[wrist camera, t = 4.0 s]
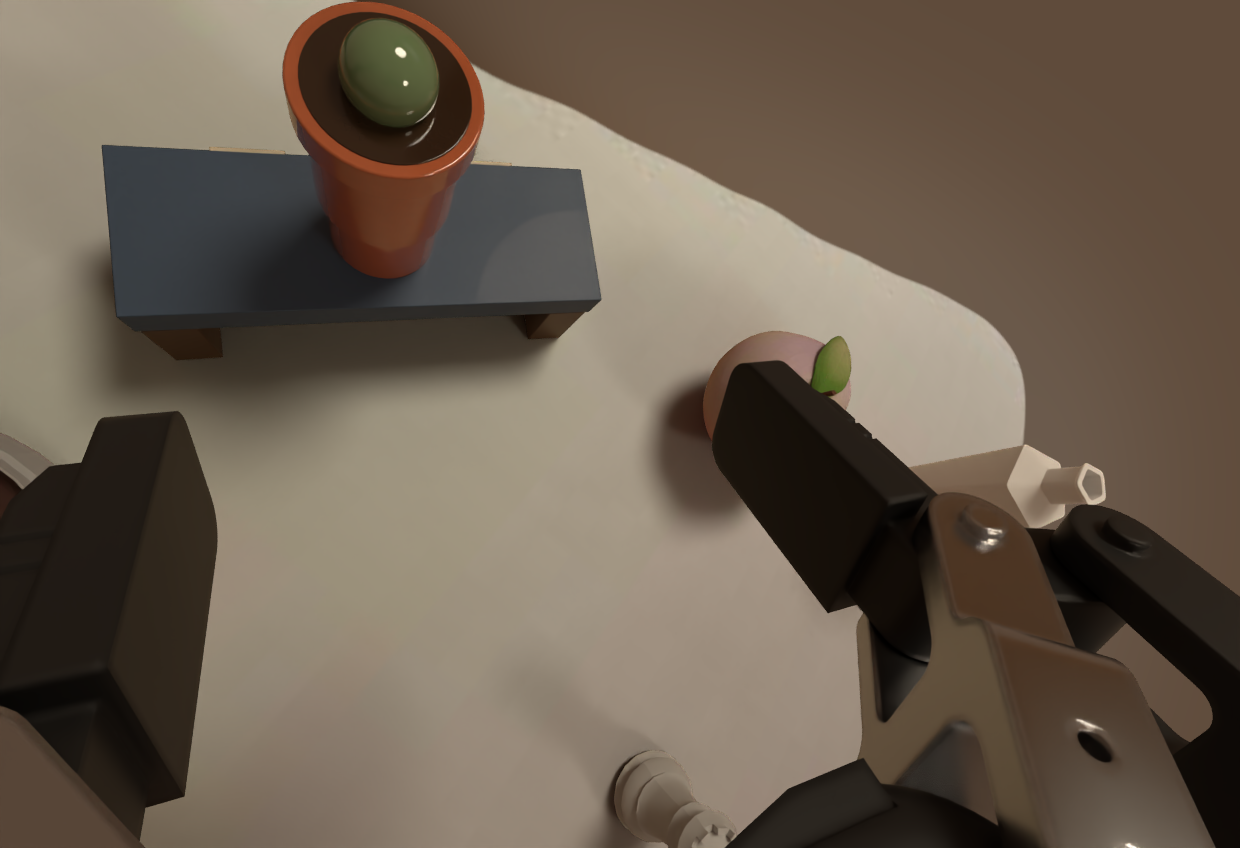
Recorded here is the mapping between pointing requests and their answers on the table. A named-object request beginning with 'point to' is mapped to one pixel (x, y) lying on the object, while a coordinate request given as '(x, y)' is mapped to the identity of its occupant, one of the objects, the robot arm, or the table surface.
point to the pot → (382, 128)
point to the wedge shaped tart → (17, 468)
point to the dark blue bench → (329, 249)
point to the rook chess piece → (667, 805)
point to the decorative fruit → (803, 354)
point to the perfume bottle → (1017, 482)
